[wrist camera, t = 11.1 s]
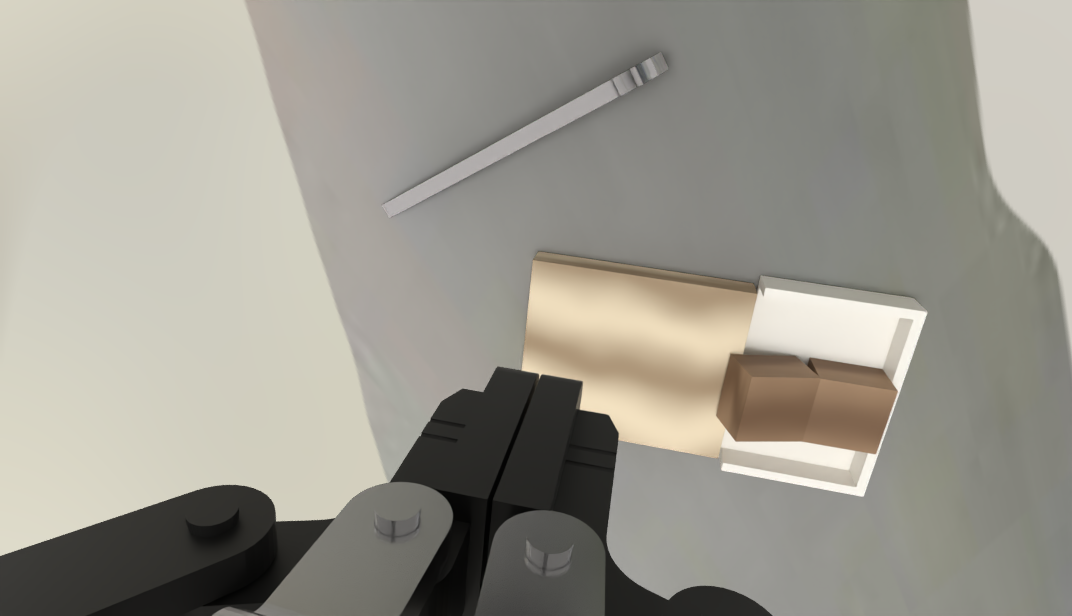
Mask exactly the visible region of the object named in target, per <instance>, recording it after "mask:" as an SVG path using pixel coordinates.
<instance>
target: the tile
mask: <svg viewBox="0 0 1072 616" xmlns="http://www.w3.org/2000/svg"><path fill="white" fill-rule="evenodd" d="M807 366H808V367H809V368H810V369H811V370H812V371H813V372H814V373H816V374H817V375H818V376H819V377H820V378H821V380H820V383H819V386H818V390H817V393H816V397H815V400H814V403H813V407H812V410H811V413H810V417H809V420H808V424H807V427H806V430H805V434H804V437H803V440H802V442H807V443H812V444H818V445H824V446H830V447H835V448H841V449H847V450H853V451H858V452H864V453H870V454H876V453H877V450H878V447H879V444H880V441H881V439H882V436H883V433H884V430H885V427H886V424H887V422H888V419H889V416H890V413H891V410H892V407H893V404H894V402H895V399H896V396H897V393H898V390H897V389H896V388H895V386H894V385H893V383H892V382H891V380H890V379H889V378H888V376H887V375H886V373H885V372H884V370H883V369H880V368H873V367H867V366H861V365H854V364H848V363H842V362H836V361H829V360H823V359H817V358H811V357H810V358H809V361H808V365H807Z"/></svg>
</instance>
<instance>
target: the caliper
mask: <svg viewBox="0 0 1072 616" xmlns="http://www.w3.org/2000/svg"><path fill="white" fill-rule="evenodd" d="M666 70H668V66H667V64H666V62H665V59H664V57H663V55H662V53H661V52H660V53H658V54H656V55H655V56H653V57H651V58H649V59H647V60H646V61H644V62H642V63H640V64H638V65H636V66H635V67H633V68H631V69H629V70H627V71H625V72H624V73H622V74H620V75H618V76H616V77H615V78H613V79H611V80H609V81H607V82H605V83H604V84H602V85H600V86H598V87H596V88H594V89H593V90H591V91H589V92H587V93H585V94H584V95H582V96H580V97H578V98H576V99H574V100H573V101H571V102H569V103H567V104H565V105H564V106H562V107H560V108H558V109H556V110H554V111H553V112H551V113H549V114H547V115H545V116H543V117H542V118H540V119H538V120H536V121H534V122H533V123H531V124H529V125H527V126H525V127H523V128H522V129H520V130H518V131H516V132H514V133H512V134H511V135H509V136H507V137H505V138H503V139H502V140H500V141H498V142H496V143H494V144H492V145H491V146H489V147H487V148H485V149H483V150H482V151H480V152H478V153H476V154H474V155H472V156H471V157H469V158H467V159H465V160H463V161H461V162H460V163H458V164H456V165H454V166H452V167H451V168H449V169H447V170H445V171H443V172H441V173H440V174H438V175H436V176H434V177H432V178H430V179H429V180H427V181H425V182H423V183H421V184H420V185H418V186H416V187H414V188H412V189H410V190H409V191H407V192H405V193H403V194H401V195H400V196H398V197H396V198H394V199H392V200H390V201H389V202H387V203H385V204H383V205H382V206H383V208H384V210H385V212H386V213H387V215H388V217H389V218H390V217H392V216H394V215H396V214H398V213H400V212H402V211H404V210H406V209H408V208H410V207H412V206H413V205H415V204H417V203H419V202H421V201H423V200H425V199H427V198H428V197H430V196H432V195H434V194H436V193H438V192H440V191H442V190H444V189H445V188H447V187H449V186H451V185H453V184H455V183H457V182H459V181H460V180H462V179H464V178H466V177H468V176H470V175H472V174H474V173H476V172H477V171H479V170H481V169H483V168H485V167H487V166H489V165H491V164H492V163H494V162H496V161H498V160H500V159H502V158H504V157H506V156H508V155H509V154H511V153H513V152H515V151H517V150H519V149H521V148H523V147H524V146H526V145H528V144H530V143H532V142H534V141H536V140H538V139H540V138H541V137H543V136H545V135H547V134H549V133H551V132H553V131H555V130H557V129H559V128H561V127H563V126H564V125H566V124H568V123H570V122H572V121H574V120H576V119H578V118H580V117H581V116H583V115H585V114H587V113H589V112H591V111H593V110H595V109H596V108H598V107H600V106H602V105H604V104H606V103H608V102H610V101H612V100H613V99H615V98H617V97H619V96H622V95H624V94H626V93H627V92H629V91H631V90H633V89H634V88H636V87H639V86H641V85H643V84H644V83H646V82H647V81H649V80H651V79H653V78H655V77H657V76H658V75H660V74H662V73H663V72H665V71H666Z"/></svg>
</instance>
